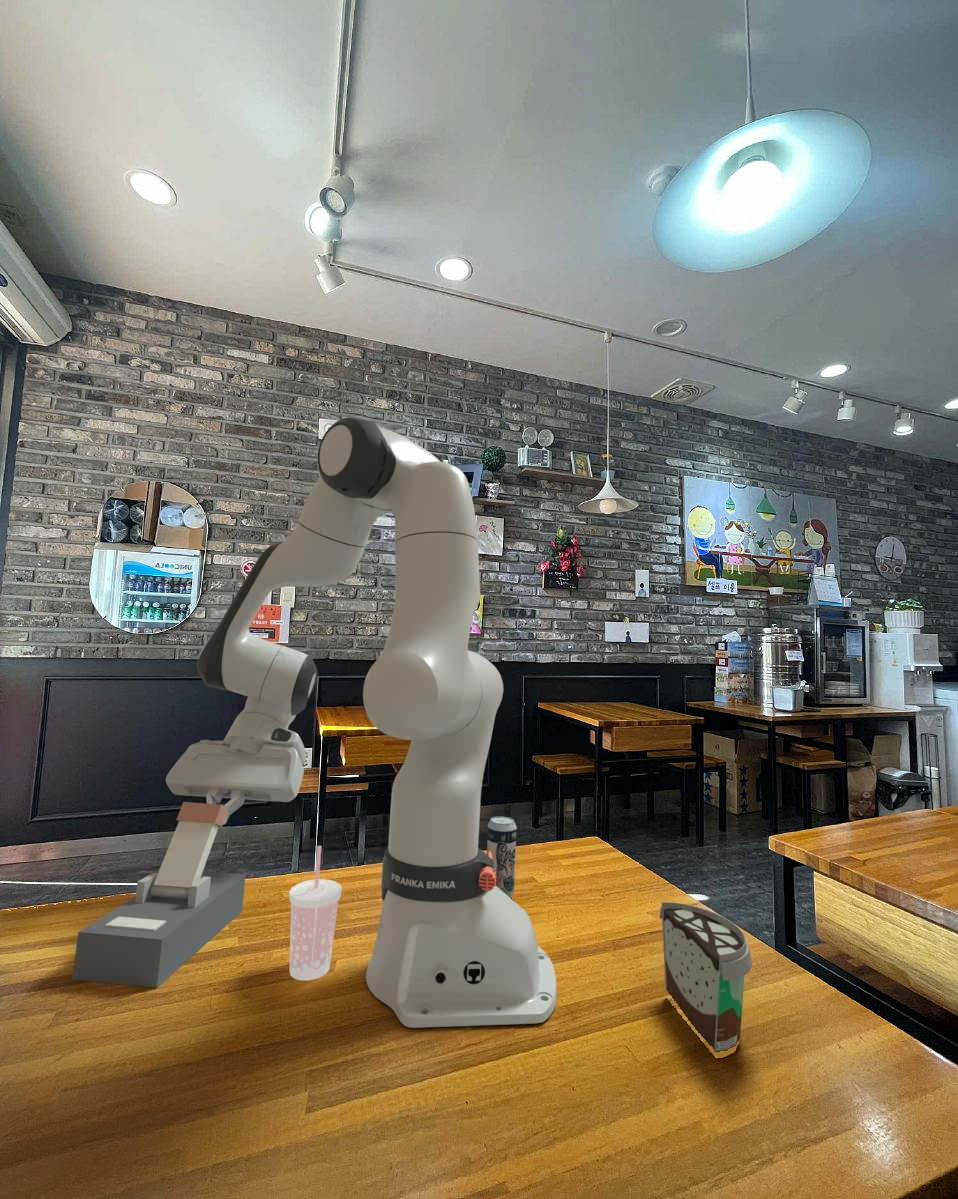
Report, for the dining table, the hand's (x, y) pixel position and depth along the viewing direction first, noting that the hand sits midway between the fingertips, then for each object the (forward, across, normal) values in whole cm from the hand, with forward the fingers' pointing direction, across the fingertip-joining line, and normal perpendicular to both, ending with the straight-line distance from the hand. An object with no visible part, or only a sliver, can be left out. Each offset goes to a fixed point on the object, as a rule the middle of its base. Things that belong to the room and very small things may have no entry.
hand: (213, 822), depth 75 cm
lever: (+10, 0, -1) cm, 10 cm away
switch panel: (+14, 0, +4) cm, 15 cm away
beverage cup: (+16, +20, +2) cm, 26 cm away
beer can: (0, +42, +18) cm, 46 cm away
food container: (+19, +66, 0) cm, 68 cm away
